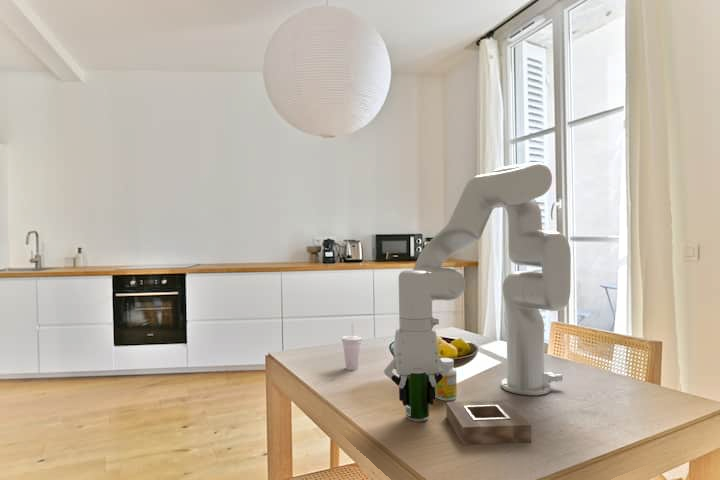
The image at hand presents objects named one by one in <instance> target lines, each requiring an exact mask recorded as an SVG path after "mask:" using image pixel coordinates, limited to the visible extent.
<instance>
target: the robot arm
mask: <svg viewBox="0 0 720 480" xmlns="http://www.w3.org/2000/svg"><path fill="white" fill-rule="evenodd" d="M552 182H553V175H552V171H551V170H550V168H549V167H548V166H547V165H546V164H545V163H542V162H539V161H537V162H536V161H535V162H527V163H522V164H512V165H508V166H507V165H506V166H502V167H499V168H496V169H494V170H493V171H491V172H490V173H484V174H479V175H475V176H473V177H472V178H470V179H469V180H468V181H467V182H466V184H465V186H464V188H463V190H462V192H461V195H460V197H459V198H458V201H457V203H456V206H455V208H454V209H453V212H452V215H450V219H449V221H448V222H447V224H446V225H445V227H444V228H442V229H441V230H440V231H439V232H438V233H436V235H434V236H433V238H431V240H429V241H428V243H427V244H426V245H425V246H424V247H423V248H422V250H421V252H419V253H420V254H419V255H418V257H417V258H416V259H417V260H416V261H415V263H414V266H413V267H412V269H408V270H403V271H401V272H400V273H399V274H398V313H399V316H398V317H399V319H398V320H399V321H398V322H399V323H398V324H399V325H398V326H399V328H397V329H396V330H395V333H394V341H393V359H392V360H391V361H390V363H389V364H388V365H386V367H385V369H384V370H383V373H384V375H385V376H387V378H389V379H390V380H392V382H393V383H395V385H396V386H398V389H399V390H398V395H399V396H398V397H399V401H400V402H401V403H402V405H403V406H404V407H406V405H407V389H406V387H405V382H406V379H407V376H409V375H410V374H411V372H413V371H414V369H417V368H423V369H422V370H423V371H425V372H426V374H427V375H428V377H429V405H430V406H431V405H434V400H436V396H435V387H436V386H437V384H438V383H439V381H440V380H441V379H442V378H443V377H444V376H445V375H446V374H447V373H448V372H449V371H450V370H449V368H448V367H447V366H446V365H445V364H444V363H443V362H442V361H441V359H440V358H441V357H440V352H439V343H438V337H437V332H436V330H435V328H434V327H435V326H436V325H440V324H439V323H440V319H439V318H436V317H434V316H433V301H447V302H449V301H454V300H456V299H458V298H460V297H461V296H462V295H463V294H464V293H465V290H466V279H465V276H464V275H463V274H462V273H461V272H460V271H458V270H456V269H455V268H454V269H453V268H450V267H442V266H443V265H444V263H445V262H446V261H447V260H448V259H449V258H450V257H451V256H452V255H454V254H455V253H457V252H459V251H461V250H463V249H465V248H468V247H469V246H472V245H473V244H475V243H476V242H478V241H479V240H480V239H481V237H482V236H483V233H484V230H485V228H486V225H487V223H488V221H489V219H490V216H491V215H492V212H493V210H494V209H498V208H500V209H501V208H505V210H506V213H507V218H508V219H507V220H508V221H507V223H508V227H507V228H508V257H509V260H510V261H511V262H512V263H513V264H514V265H517V266H522V267H533V268H541V271H542V272H539V271H530V270H529V271H527V270H517V271H514V272H513V271H512V272H511V273H509V274H508V275H506V277H505V278H504V280H503V281H502V295H503V301H504V305H505V311H506V378H503V379H502V380H501V382H500V384H501V385H500V386H501V388H502V389H504V390H505V391H507V392H510V393H513V394H517V395H524V396H540V395H541V396H543V395H545V394H548V393H550V391H551V384H552V382H556V383H557V382H563V375H562V374H559V373H557V374H554V373H553V372H546V370H545V323H544V318H543V316H542V314H541V312H540V310H542V311H550V312H558V311H559V312H560V311H562V310H563V309H565V308H566V307H567V306H568V304H569V302H570V301H569V300H570V298H571V284H572V283H571V280H572V279H571V274H572V273H571V268H572V266H571V264H572V263H571V261H572V259H571V257H572V256H571V255H572V254H571V247H570V244H569V240H568V239H567V238H566V235H564V234H563V233H561V232H559V231H557V230H543V222H542V211H541V208H540V205H539V203H538V201H537V200H536V199H538V198H539V197H542V196H544V195H545V194H547V192H548V191H549V190H550V189H551V187H552ZM440 367H441V370H440V371H439V369H440ZM393 370H395V372H396V374H397V375H398V376H397V375H396V374H395V373H394V372H393Z"/></svg>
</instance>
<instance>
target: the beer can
mask: <svg viewBox="0 0 720 480" xmlns="http://www.w3.org/2000/svg"><path fill="white" fill-rule="evenodd" d="M422 369H423V368H417V369H414V371H413V372H411V374H410V375H409V376H407V379H406V382H405V387H406V389H407V405H406V406H405V416H406V418H407V420H409V421H410V422H417V423H421V422H425V421H427V420H428V419H429V417H430V404H429V377H428V375H427V374H426V372H425V371H423V370H422Z"/></svg>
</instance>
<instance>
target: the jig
mask: <svg viewBox="0 0 720 480" xmlns="http://www.w3.org/2000/svg"><path fill="white" fill-rule="evenodd" d="M445 403H446V404H445V406H446V408H445V409H446V415H445V417H446V419H447V421H448V422H449V424H450V426H451V428H452V429H453V431H454V432H455V434H456V436H457V437H458V439H459V440H460V442H461V444H462V445H463V446H464V445H485V444H488V445H489V444H493V445H494V444H514V443H515V444H517V443H532V424H531V423H530V422H529V421H528V420H527V419H526V418H525V417H524V416H523V415H522V414H520V412H518V410H517V409H516V408H515V407H514V406H513V405H512V404H511V403H509V402H508V401H507V399H503V400H502V399H501V400H477V401H473V400H471V401H446V402H445ZM474 405H498V406H499V407H500V408H501V409H502V410H503V411H504V412H505V413H506V414H507V415H508V416H509V417H510V419H506V420H477V421H473V419H472V418H471V416H470V415H469V414H468V412H467V411H466V410H465V408H464V407H463V406H474ZM468 409H469V410H470V412H471V413H472V414H473V416H474V417H475V418H503V417H505V416H504V415H503V414H502V413H501V412H500V411H499V410H498V409H497V407H472V408H468Z"/></svg>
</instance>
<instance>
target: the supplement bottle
mask: <svg viewBox="0 0 720 480" xmlns="http://www.w3.org/2000/svg"><path fill="white" fill-rule="evenodd" d="M439 358H440V359H441V361H442V362H443V363H444V364H445V365H446V366H447V367H448V368H449V370H450V371H449V372H448V373H447V374H446V375H445V376H444V377H443V378H442V379H441V380H440V381H439V383H438V384H437V386H436V387H435V399H438V400H441V401H446V402H451V401H454V400H456V399H457V390H458V389H457V387H458V386H457V370H456V368H455V367H454V363H455V361H454V359H453V358H449V357H439ZM440 370H441V367H440V369H439V371H440Z"/></svg>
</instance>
